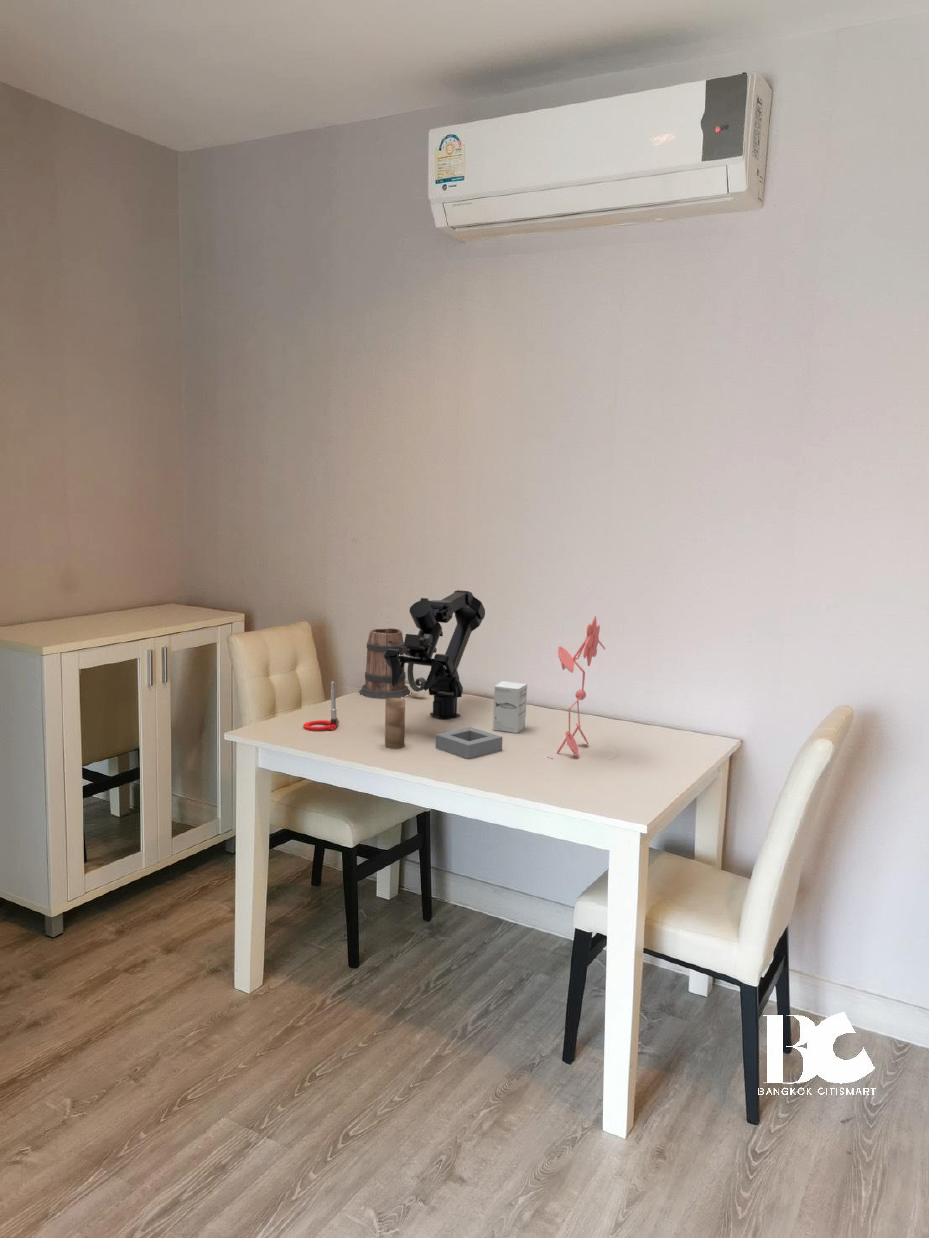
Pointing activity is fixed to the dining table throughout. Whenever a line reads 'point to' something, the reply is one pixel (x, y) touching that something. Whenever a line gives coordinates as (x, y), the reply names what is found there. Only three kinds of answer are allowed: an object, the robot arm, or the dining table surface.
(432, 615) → the robot arm
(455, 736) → the socket block
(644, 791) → the dining table surface
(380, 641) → the tankard
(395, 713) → the walnut peg
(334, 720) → the tow hook
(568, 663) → the figurine
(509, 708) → the supplement box
